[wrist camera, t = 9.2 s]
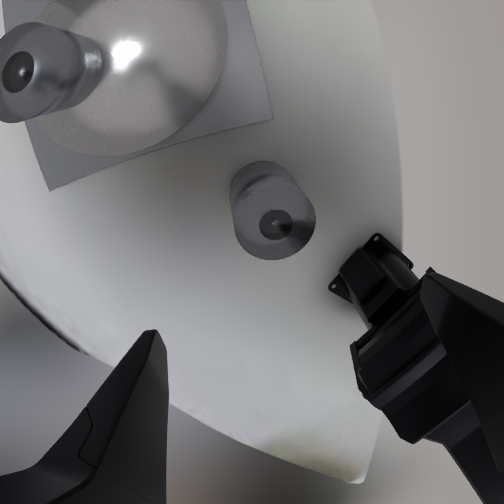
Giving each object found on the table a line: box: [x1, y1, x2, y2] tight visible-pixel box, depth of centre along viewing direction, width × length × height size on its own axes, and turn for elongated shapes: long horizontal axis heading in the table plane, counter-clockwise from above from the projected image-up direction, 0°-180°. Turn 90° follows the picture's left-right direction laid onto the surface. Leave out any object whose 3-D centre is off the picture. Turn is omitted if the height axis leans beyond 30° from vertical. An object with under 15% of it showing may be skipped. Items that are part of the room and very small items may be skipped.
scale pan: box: [34, 0, 227, 156], centre depth 13 cm, size 12×12×1 cm
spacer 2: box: [230, 161, 316, 260], centre depth 18 cm, size 4×4×5 cm
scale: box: [2, 0, 273, 191], centre depth 12 cm, size 17×15×4 cm
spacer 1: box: [0, 22, 102, 123], centre depth 10 cm, size 4×4×5 cm
